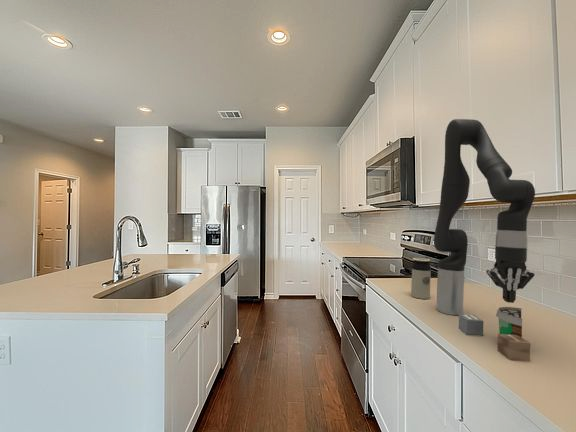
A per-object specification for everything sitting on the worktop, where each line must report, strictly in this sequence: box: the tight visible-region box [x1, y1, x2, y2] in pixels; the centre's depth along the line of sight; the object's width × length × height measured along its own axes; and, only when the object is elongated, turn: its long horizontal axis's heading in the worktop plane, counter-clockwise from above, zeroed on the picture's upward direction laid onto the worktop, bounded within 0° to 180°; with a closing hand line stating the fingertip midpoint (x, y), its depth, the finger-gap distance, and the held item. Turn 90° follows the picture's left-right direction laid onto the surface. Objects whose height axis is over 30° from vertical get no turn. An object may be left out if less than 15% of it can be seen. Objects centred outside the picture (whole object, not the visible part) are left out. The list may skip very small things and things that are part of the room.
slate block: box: [458, 314, 484, 337], centre depth 92 cm, size 5×5×5 cm
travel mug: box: [410, 257, 432, 300], centre depth 131 cm, size 8×8×18 cm
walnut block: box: [497, 333, 531, 362], centre depth 77 cm, size 5×5×5 cm
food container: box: [495, 306, 523, 338], centre depth 85 cm, size 12×6×10 cm, turn 141°
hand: (508, 301), depth 85 cm, fingers closed
